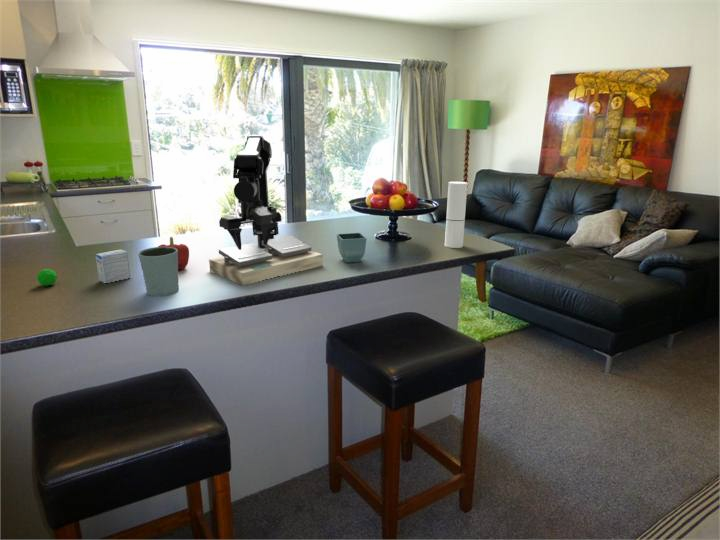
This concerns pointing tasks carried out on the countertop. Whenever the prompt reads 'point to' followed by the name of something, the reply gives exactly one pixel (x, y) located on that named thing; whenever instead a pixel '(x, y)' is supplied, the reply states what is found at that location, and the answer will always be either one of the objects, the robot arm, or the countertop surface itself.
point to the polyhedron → (47, 277)
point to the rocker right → (287, 246)
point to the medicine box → (113, 266)
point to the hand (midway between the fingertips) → (252, 247)
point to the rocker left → (245, 254)
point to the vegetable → (180, 253)
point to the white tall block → (455, 214)
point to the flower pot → (351, 246)
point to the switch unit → (265, 266)
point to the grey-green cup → (160, 270)
